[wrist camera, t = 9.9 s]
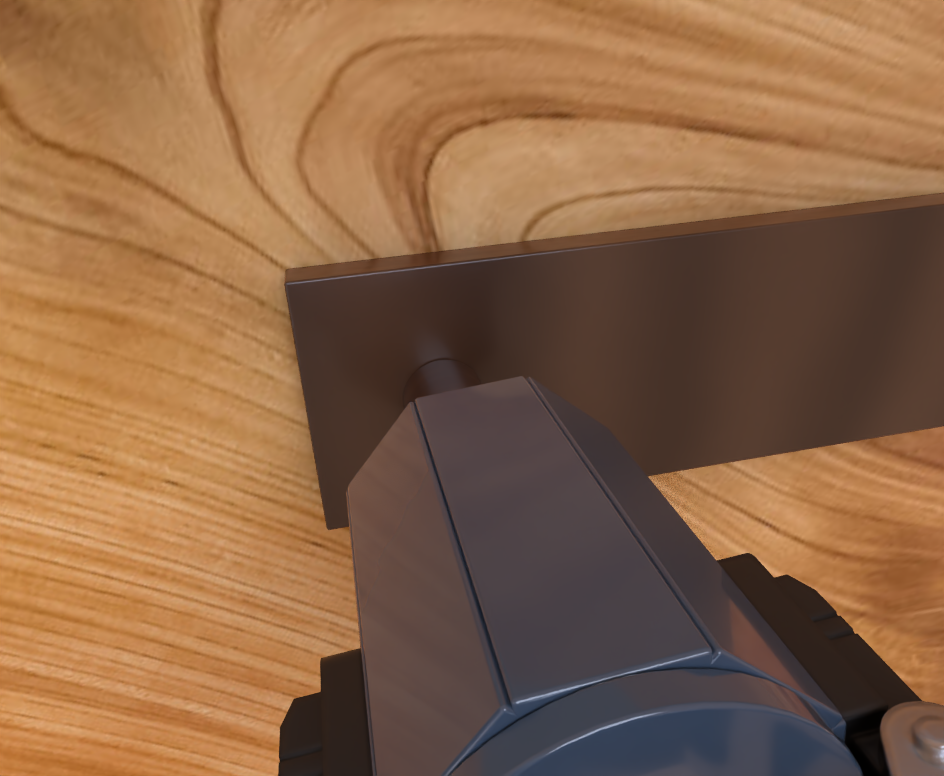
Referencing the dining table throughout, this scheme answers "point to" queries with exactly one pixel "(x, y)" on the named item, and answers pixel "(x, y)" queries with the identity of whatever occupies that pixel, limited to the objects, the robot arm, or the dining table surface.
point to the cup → (558, 610)
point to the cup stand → (643, 334)
